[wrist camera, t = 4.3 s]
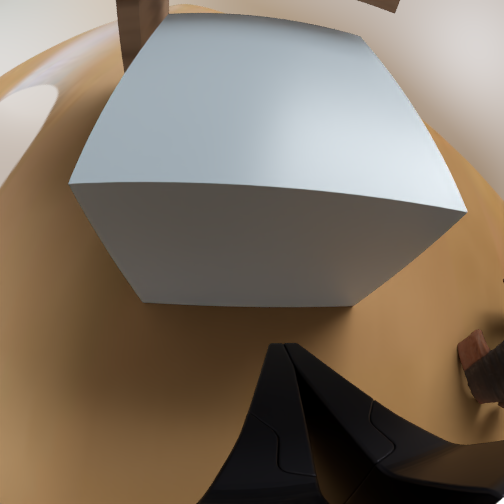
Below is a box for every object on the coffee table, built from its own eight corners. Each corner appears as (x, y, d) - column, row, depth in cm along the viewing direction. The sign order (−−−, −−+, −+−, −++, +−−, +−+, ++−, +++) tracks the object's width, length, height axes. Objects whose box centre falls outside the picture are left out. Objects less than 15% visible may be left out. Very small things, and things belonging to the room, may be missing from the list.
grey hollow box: (353, 305, 17) (467, 212, 8) (142, 302, 15) (68, 183, 6) (320, 139, 23) (359, 36, 14) (173, 129, 22) (168, 14, 13)
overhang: (347, 157, 22) (417, 6, 10) (126, 144, 20) (98, -28, 8) (322, 86, 28) (358, -26, 15) (156, 74, 26) (152, -47, 13)
